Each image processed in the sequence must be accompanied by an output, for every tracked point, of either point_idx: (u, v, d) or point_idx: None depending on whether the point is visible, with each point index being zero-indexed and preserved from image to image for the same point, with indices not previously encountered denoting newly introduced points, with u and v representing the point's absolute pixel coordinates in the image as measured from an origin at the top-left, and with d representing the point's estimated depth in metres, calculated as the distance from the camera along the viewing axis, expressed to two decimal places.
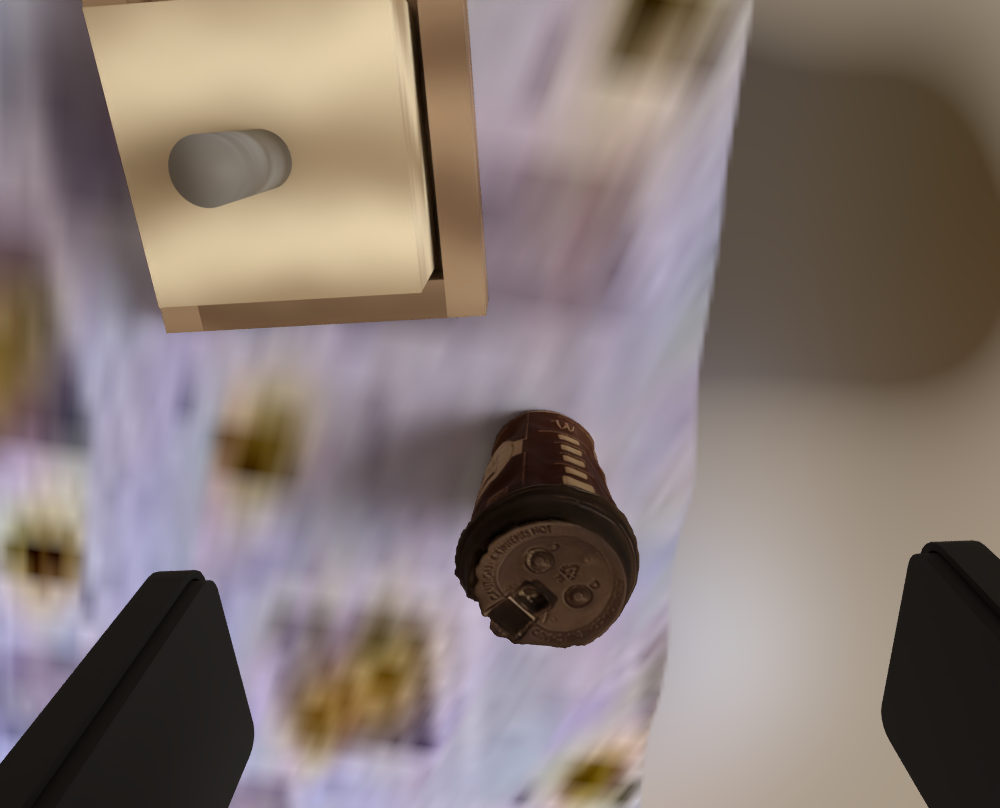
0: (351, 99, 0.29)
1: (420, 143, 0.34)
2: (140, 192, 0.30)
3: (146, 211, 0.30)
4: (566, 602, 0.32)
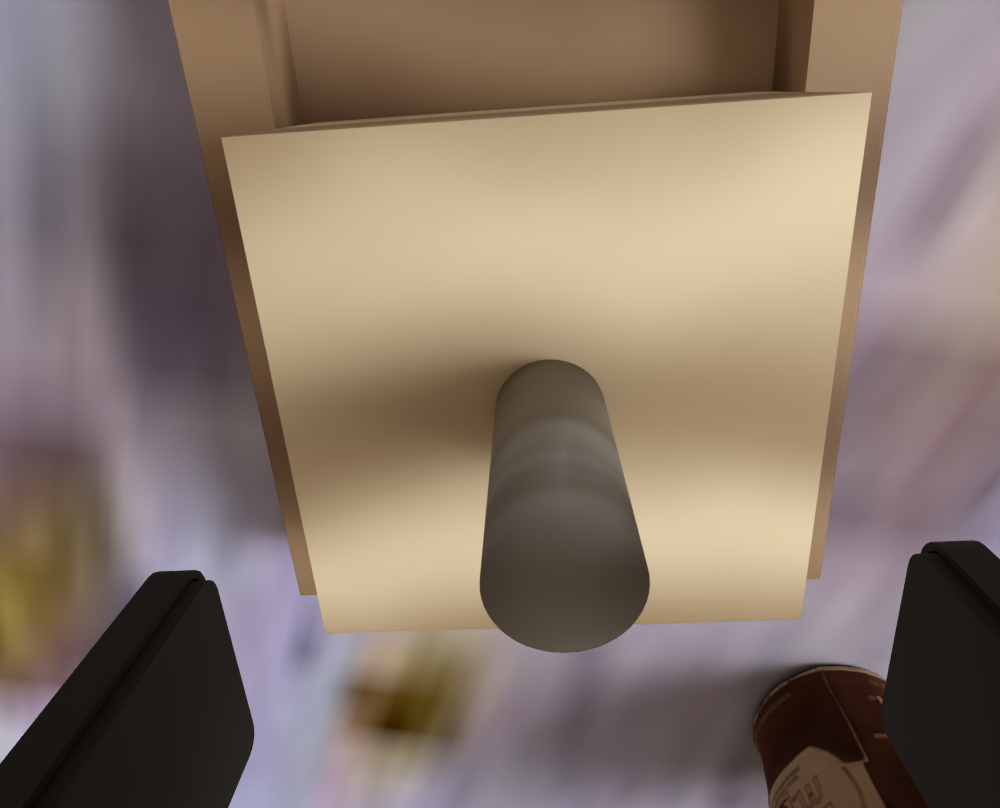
0: (744, 309, 0.14)
1: None
2: (309, 460, 0.16)
3: (317, 490, 0.16)
4: None
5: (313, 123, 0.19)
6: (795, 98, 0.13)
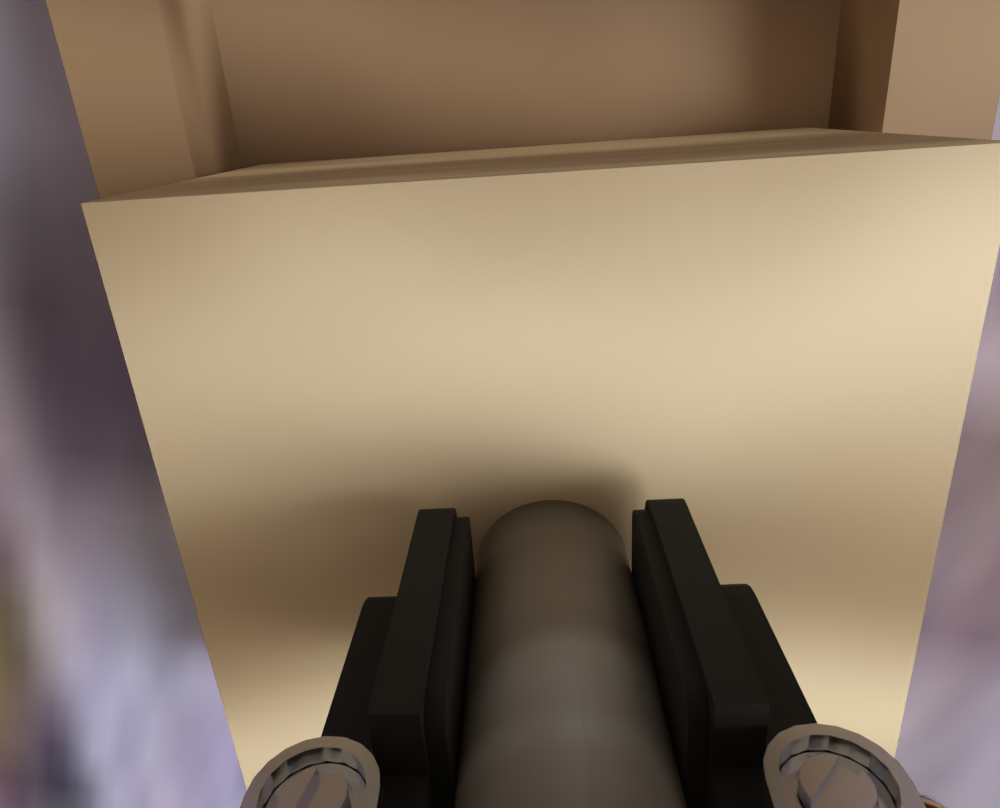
0: (823, 437, 0.10)
1: None
2: (227, 625, 0.12)
3: (240, 661, 0.12)
4: None
5: (249, 167, 0.15)
6: (908, 150, 0.09)
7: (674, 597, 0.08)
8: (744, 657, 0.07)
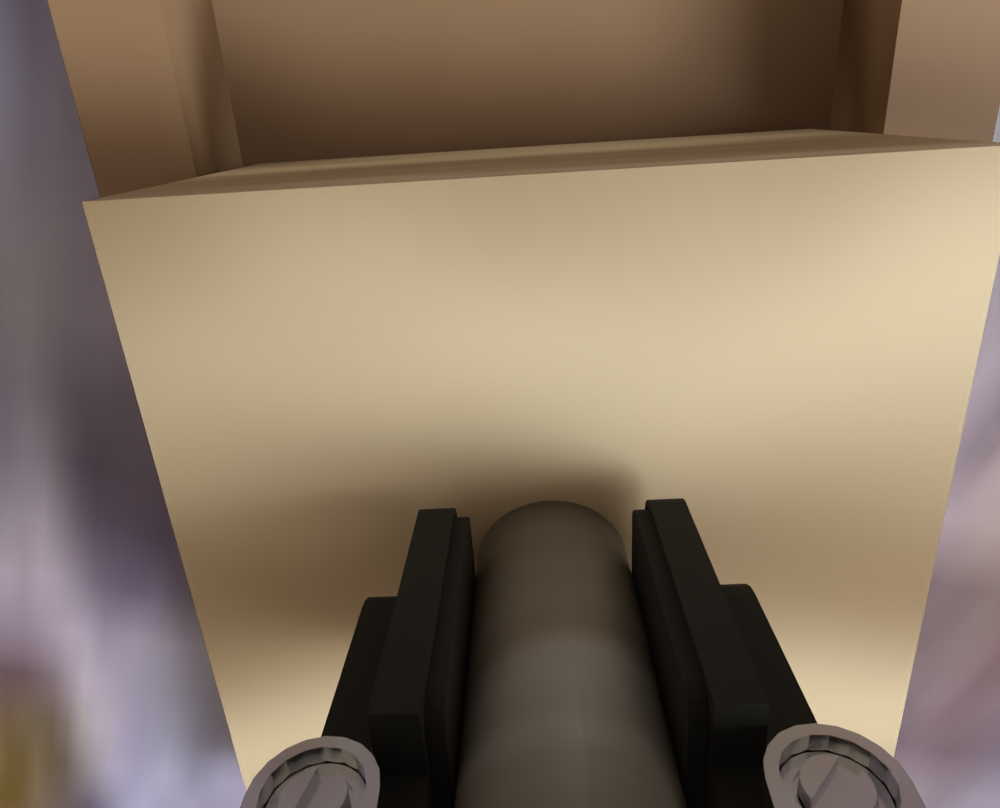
0: (824, 438, 0.10)
1: None
2: (227, 624, 0.12)
3: (240, 661, 0.12)
4: None
5: (250, 166, 0.15)
6: (910, 152, 0.09)
7: (674, 597, 0.08)
8: (744, 657, 0.07)
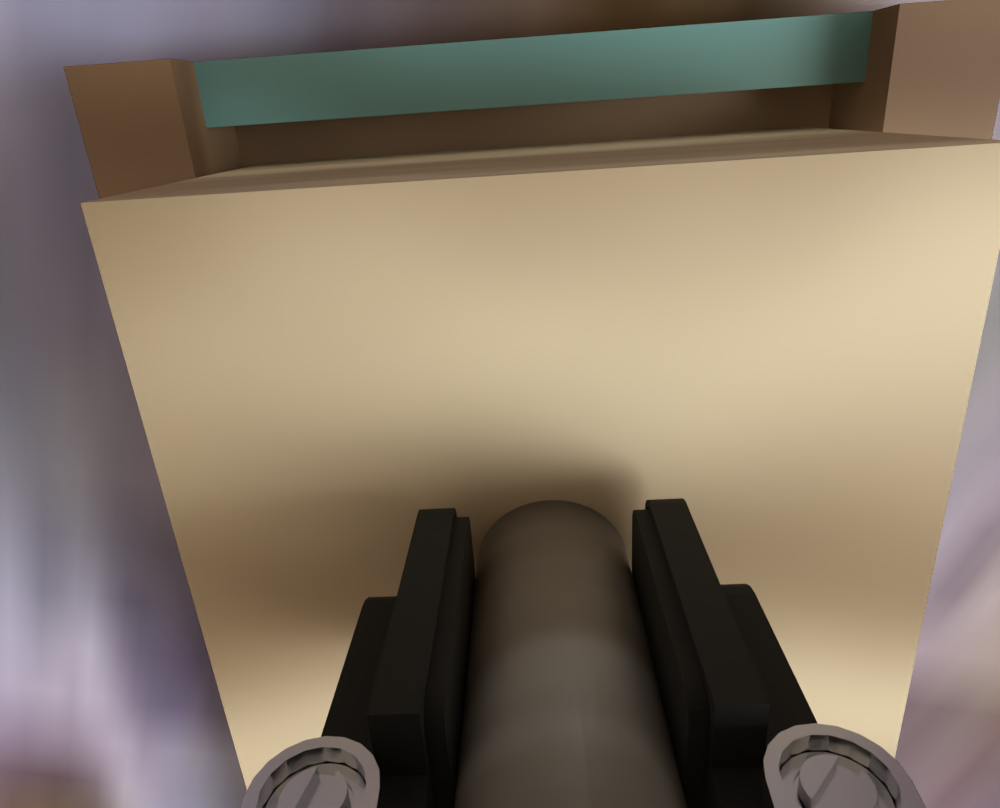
0: (823, 436, 0.10)
1: None
2: (227, 625, 0.12)
3: (240, 661, 0.12)
4: None
5: (249, 167, 0.15)
6: (909, 150, 0.09)
7: (674, 597, 0.08)
8: (744, 657, 0.07)
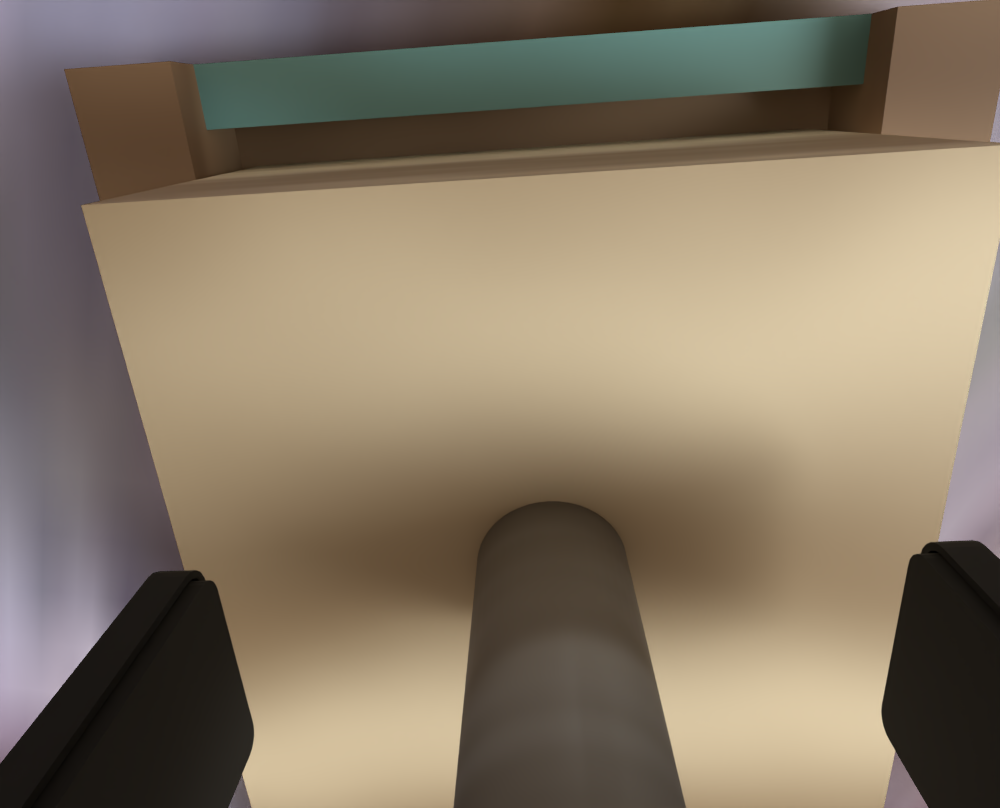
0: (822, 438, 0.10)
1: None
2: None
3: (240, 662, 0.12)
4: None
5: (249, 169, 0.15)
6: (906, 152, 0.09)
7: None
8: None
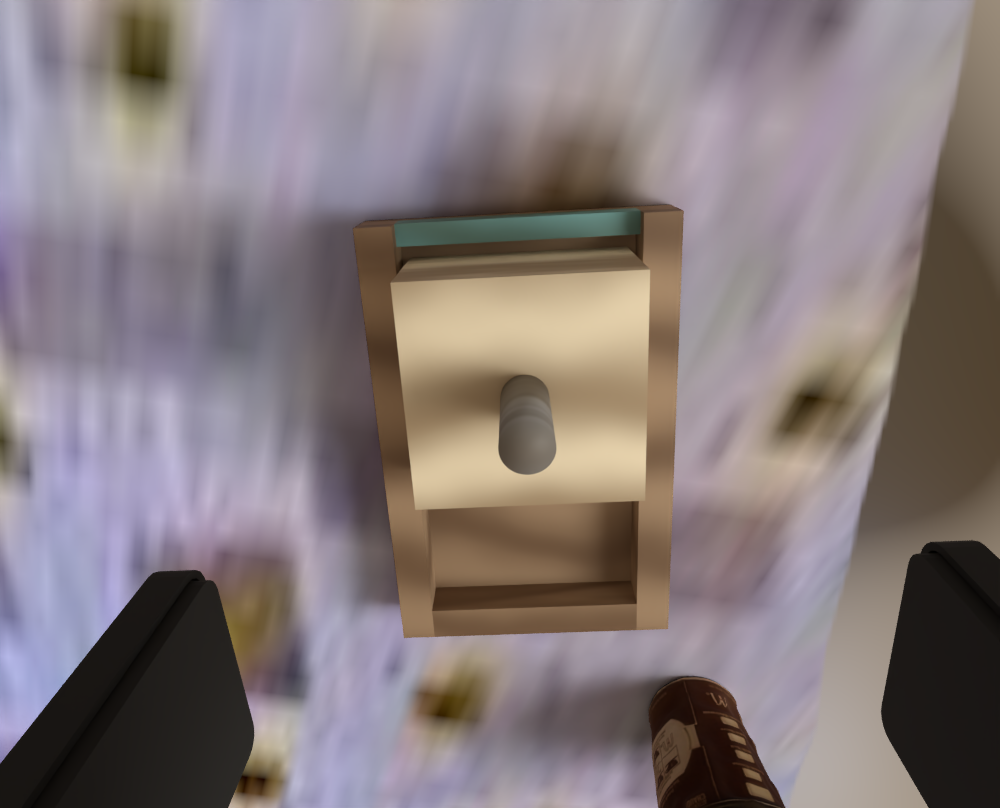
0: (607, 353, 0.34)
1: None
2: (415, 421, 0.35)
3: (417, 435, 0.36)
4: None
5: (410, 261, 0.38)
6: (620, 271, 0.33)
7: None
8: None
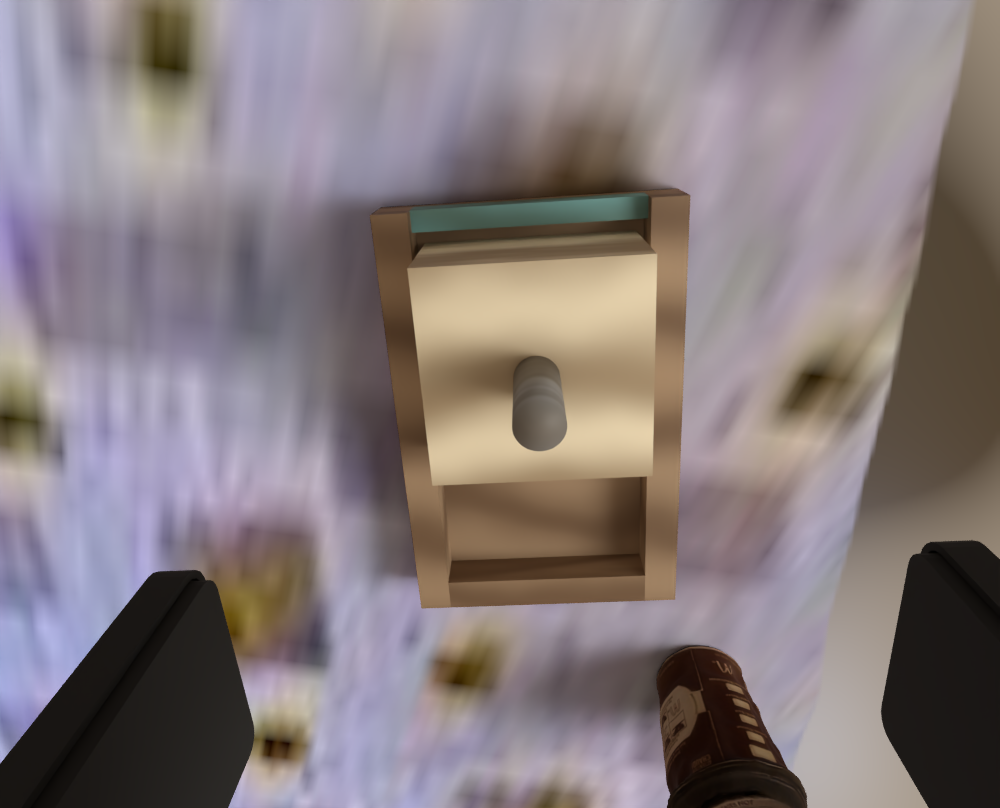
0: (615, 335, 0.35)
1: None
2: (431, 400, 0.37)
3: (434, 414, 0.37)
4: None
5: (425, 246, 0.40)
6: (628, 255, 0.34)
7: None
8: None
